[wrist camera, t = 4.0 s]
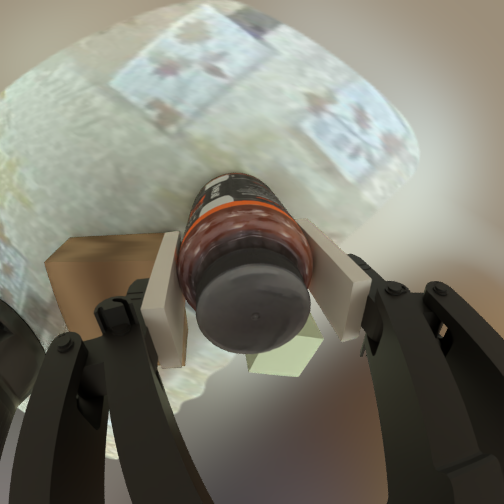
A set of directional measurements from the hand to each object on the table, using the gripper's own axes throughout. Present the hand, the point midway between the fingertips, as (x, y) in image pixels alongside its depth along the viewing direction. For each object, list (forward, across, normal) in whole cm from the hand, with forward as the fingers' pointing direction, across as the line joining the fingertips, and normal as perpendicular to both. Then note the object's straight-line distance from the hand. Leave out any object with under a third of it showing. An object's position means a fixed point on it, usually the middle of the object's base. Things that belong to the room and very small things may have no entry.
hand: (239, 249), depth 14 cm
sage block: (+7, +4, -12) cm, 14 cm away
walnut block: (+8, -9, -6) cm, 14 cm away
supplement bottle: (+6, 0, 0) cm, 6 cm away
